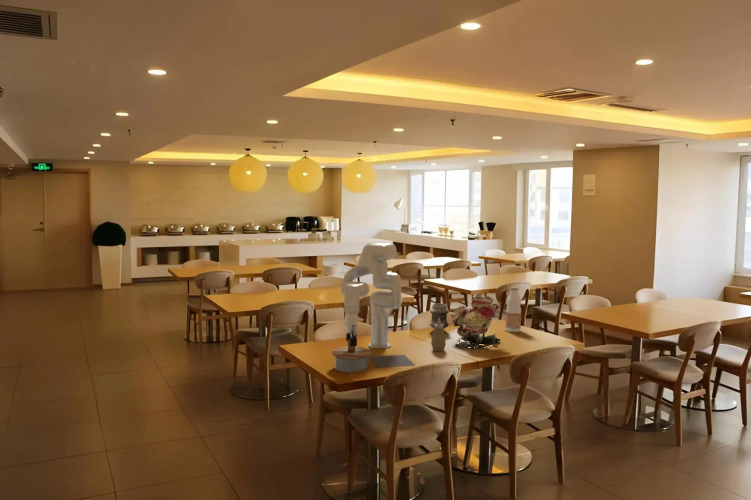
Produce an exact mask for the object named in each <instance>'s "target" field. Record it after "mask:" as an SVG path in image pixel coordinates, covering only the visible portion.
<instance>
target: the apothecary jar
mask: <svg viewBox="0 0 751 500" xmlns="http://www.w3.org/2000/svg"><path fill="white" fill-rule="evenodd" d="M429 312H430V313H431V320H430V321H429V326H430V327H431V328H433V329H434V328H435V324H437V321H438V318H440V320H441V324H442V325H443V329H444V330H445V329H446V328H448V327H449V324H450V323H449V321H448V317H447V316H448V315H447V314H449V312H450V311H449V308H448V307H447V304H445V303H433V304H432V307H430V309H429ZM430 333H431V334H433V330H431V331H430ZM446 334H447V331H446V330H445V335H446Z"/></svg>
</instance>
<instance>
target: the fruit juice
mask: <svg viewBox="0 0 751 500" xmlns="http://www.w3.org/2000/svg"><path fill="white" fill-rule="evenodd" d="M521 304H522V299H521V297H520V295H519V287H516V286H513V287H510V293H509V295H508V297H507V298H506V308H505V309H506V310H505V331H507V332H509V333H519V332H521V324H522V323H521V322H522V321H521V319H522V308H521Z"/></svg>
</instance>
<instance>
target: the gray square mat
mask: <svg viewBox="0 0 751 500" xmlns="http://www.w3.org/2000/svg"><path fill="white" fill-rule="evenodd" d="M368 360H370V362H371V363H372V364H373V365H374V366H375V368H377V369H379V368H396V367H397V368H398V367H412V366H413V367H414V366H416V364H415V363H414V362H412V360H410V359H409V358H408V357H407V356H406V355H405V354H391V355H390V354H389V355H375V356H374V355H373V356H369V357H368Z"/></svg>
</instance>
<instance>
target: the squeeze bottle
mask: <svg viewBox="0 0 751 500" xmlns="http://www.w3.org/2000/svg"><path fill="white" fill-rule="evenodd" d="M432 331H433V333H431V335H432V336H431V337H432V338H431V348H432V350H433V351H435V352H444V351H445V348H446V342H447V341H446V334H445V331H446V330H445V328H444V329H443V325H442V324H441V320H440V318H438V321H437V324H435V328H433V329H432Z"/></svg>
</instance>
